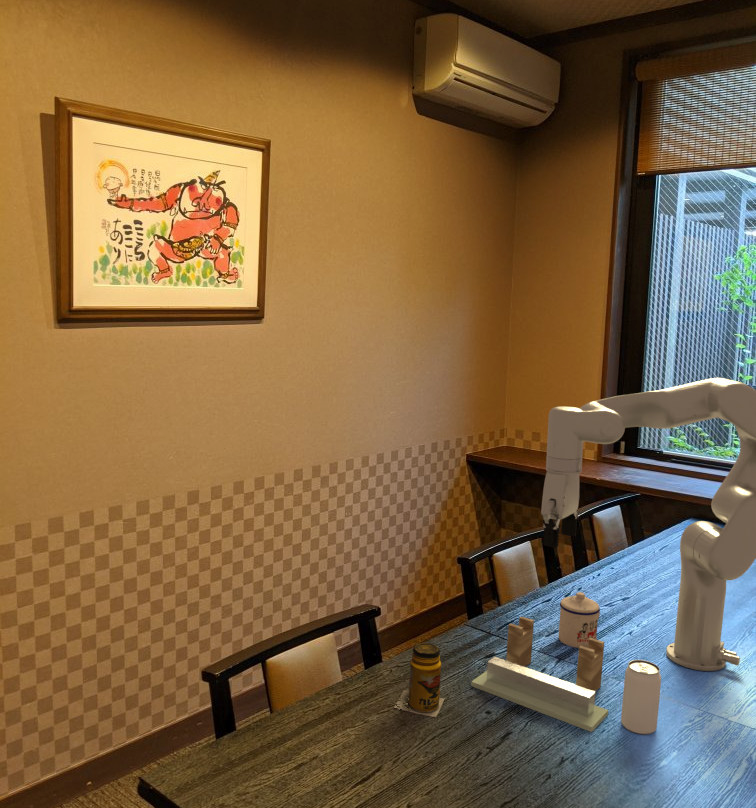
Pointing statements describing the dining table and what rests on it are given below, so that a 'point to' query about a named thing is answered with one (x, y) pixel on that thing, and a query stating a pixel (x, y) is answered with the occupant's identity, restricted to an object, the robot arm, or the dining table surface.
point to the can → (641, 697)
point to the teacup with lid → (578, 620)
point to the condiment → (424, 681)
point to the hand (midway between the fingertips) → (559, 540)
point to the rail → (541, 686)
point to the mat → (541, 704)
